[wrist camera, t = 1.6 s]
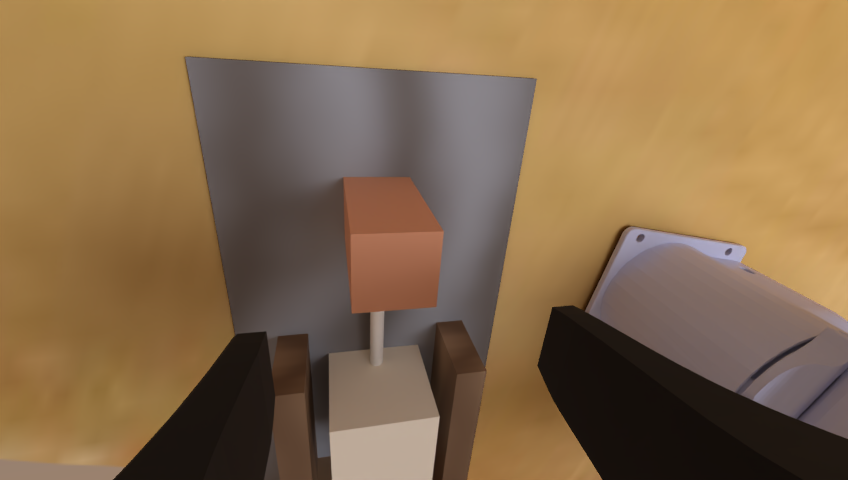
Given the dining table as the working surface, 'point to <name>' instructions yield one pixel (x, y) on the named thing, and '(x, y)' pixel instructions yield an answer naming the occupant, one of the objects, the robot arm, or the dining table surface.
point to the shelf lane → (325, 235)
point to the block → (383, 367)
